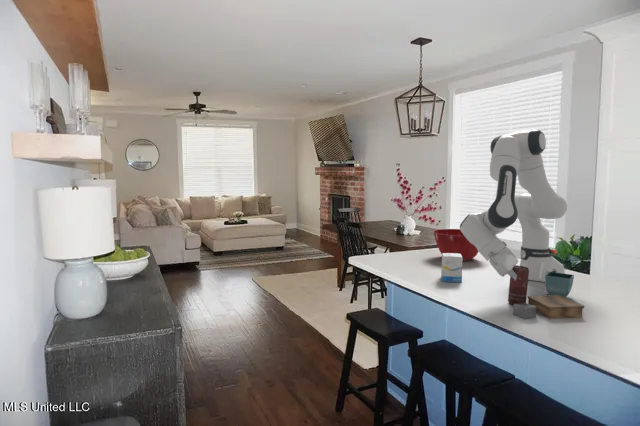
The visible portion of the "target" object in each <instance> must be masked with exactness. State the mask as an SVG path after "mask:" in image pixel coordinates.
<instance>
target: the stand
mask: <svg viewBox="0 0 640 426" xmlns="http://www.w3.org/2000/svg"><path fill="white" fill-rule="evenodd" d="M526 299H528V304H531V305H534V306H537V307H536V313H538V314H540V315H542V316H544V317H545V318H548V319H568V318H569V319H570V318H583V309H585V305H582V304H581V303H578V302H576V301H573V300H572V299H569V298H568V297H566V298H565V297H563V296H560V295H549V294H548V295H528V296H526Z"/></svg>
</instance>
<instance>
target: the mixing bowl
mask: <svg viewBox="0 0 640 426" xmlns="http://www.w3.org/2000/svg"><path fill="white" fill-rule="evenodd" d="M432 233H433V234H434V240H435V243H436V246H437V249H438V250H439V252H440V254H441V255H442V253H458V254H461V255H462V257H463V262H465V261H470V260H472V259H474V258H475V257H476V256H477V255H478V253H480V252H479V251H478V250H477V248H476V247H475V246H474V245H473V244H471V243H470V242H469V241H468V239H467V238H466V237H465V236H464V235H463V233H462V232H461V230H460V228H443V229H436V230H433V231H432Z"/></svg>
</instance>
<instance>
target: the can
mask: <svg viewBox="0 0 640 426" xmlns="http://www.w3.org/2000/svg"><path fill="white" fill-rule="evenodd" d="M512 270H513V271H514V272H515V273H516V274H517V278H516V281H515V280H514V278H512V277H510V276H509V277H510V278H509V286H508V296H507V302H508V303H509V304H510V305H512V306H514V304H517V303H523V302H525V303H527V295H528V293H527V292H528V283H529V280H528V277H529V269H528V268H527V267H524V266H520V265H519V264H518V265H517V264H516V266H514V267H513V269H512ZM519 278H520V279H519Z"/></svg>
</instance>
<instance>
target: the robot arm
mask: <svg viewBox="0 0 640 426" xmlns="http://www.w3.org/2000/svg"><path fill="white" fill-rule="evenodd" d="M546 145H547V139H546V136H545V134H544V132H543V131H541V130H540V129H530V130H521V131H515V132H512V133H508V134H505V135H498V136H495V137H494V138H493V139H492V140H491V142H490V153H491V157H490V164H489V175H490V177H491V178H492V180H494V181H496V182H497V186H496V194H495V195H496V196H495V199H494V201H493V202H492V203H491V204H490V207H488V209H487V210H486V211H482V212H478V213H472V212H470V213H469V214H468V215H466V217H464V219H463V220H462V221H461V222H460V224H459V229H460V230H461V232H462V233H463V235H464V236H465V237H466V238H467V239H468V241H469V242H470V243H471V244H473V245H474V246H475V247H476V248H477V250H478V251H479V252H478V253H480V255H481V256H482V257H483V258H484V259H485V260H486V261H487V262H488V261H489V264H490V265H491V267H492V268H493V269H494V270H495V271H496V272H497V274H498V275H499V276H501V277H503V278H504V277H505V276H506V275H508V276H509V277H512V278H514V280H515V281H516V278H517V274H516V273H515V272H514V271H513V270H512V269H513V267H514V266H517V264H518V263H519V266H524V267H527V268H528V269H529V277H528V281H529V280H530V281H537V282H542V283H545V275H546V274H547V273H549V272H556V273H563V274H566V271H565V267H564V265H563V264H562V263H561V262H560V261H558V260H557V259H556V258H555V257H554V256H553V255H556V254H557V252H558V251H557V250H556V249H554V248H552V249H551V248H550V246H549V245H550V232H549V230H548V229H547V227H545V226H544V225H543V223H542V222H541V219H543V220H555V219H556V220H557V219H562V218H563V217H564V216H565V214H566V212H567V209H568V204H567V202H566V200H565V198H564V197H562V196H560V195H559V194H558V193H556V191H555V190H554V189H553V187H552V186H551V185H550V183H549V181H548V178H547V175H546V172H545V166H544V161H543V160H544V159H543V156H542V153H543V152H544V151H545V150H546ZM517 180H518V183H519V186H520V187H521V188H522V189H524V190H525V191H526V192H528V193H520V194H516V186H517ZM517 220H518V222H519V223H520V227H521V235H522V236H521V238H522V240H521V241H522V242H521V246H520V262H519V260H518V258H517V257H516V256H515V254H514V253H513V252H512V250H511V249H509V247H508V244H507V243H506V242H505V241H502V240H501V239H500V238H498V236H497V235H498V234H499V235H500V234H501V233H503V232H504V231H505V230H506V229H508V228H509V227H510V226H512V225H513V224H514V223H515V222H517ZM519 279H520V278H519Z"/></svg>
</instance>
